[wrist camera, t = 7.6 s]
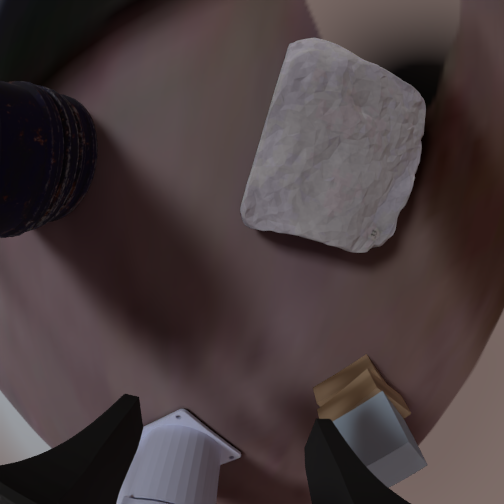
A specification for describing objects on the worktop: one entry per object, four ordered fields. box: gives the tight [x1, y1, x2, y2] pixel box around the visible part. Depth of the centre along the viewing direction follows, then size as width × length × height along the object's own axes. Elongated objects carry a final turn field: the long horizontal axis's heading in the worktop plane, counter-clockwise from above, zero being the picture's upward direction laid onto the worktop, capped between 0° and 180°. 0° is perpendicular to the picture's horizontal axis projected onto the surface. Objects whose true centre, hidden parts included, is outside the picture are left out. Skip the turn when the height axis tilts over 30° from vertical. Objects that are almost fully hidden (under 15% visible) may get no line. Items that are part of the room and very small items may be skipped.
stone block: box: [240, 38, 426, 253], centre depth 17 cm, size 12×5×10 cm
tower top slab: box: [317, 369, 411, 422], centre depth 20 cm, size 5×5×2 cm
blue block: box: [333, 391, 427, 488], centre depth 16 cm, size 4×4×5 cm
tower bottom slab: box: [313, 354, 386, 407], centre depth 22 cm, size 5×5×2 cm
